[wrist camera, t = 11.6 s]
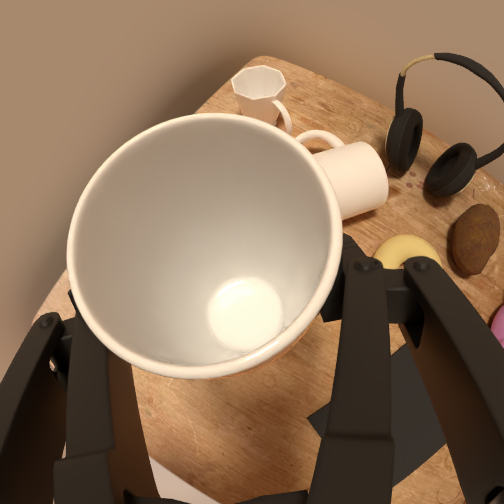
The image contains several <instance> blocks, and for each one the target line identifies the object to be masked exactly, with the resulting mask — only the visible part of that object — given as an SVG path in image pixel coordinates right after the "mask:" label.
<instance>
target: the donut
mask: <svg viewBox="0 0 504 504" xmlns="http://www.w3.org/2000/svg"><path fill="white" fill-rule="evenodd" d="M414 256H426V257H429V258H431V259H434V260H435V261H436V262H438V264H439V265H440V266H441V267H442V268H443V266H442V263H441V260H440V258H439V256H438V254H437V252H436V251H435V250H434V248H433V247H432V246H431V245H430V244H429V243H428V242H426V241H425V240H424V239H422V238H420V237H418V236H415V235H410V234H402V235H397V236H394V237H392V238H390V239H388V240H386V241H385V242H384V243H383V244H382V245H381V246H380V247H379V248H378V249H377V251H376V253H375V254H374V256H373V258H376V259H378V260H379V261H381V262H382V264H383V268H386V269H398V268H399V266H400V265H401V264H402V263H403V262H405V261H406V260H407V259H408V258H411V257H414Z"/></svg>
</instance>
